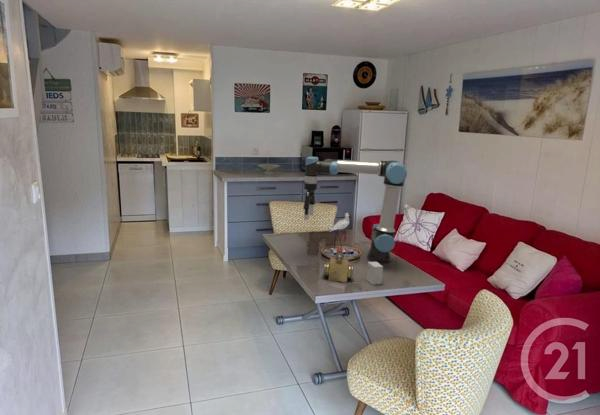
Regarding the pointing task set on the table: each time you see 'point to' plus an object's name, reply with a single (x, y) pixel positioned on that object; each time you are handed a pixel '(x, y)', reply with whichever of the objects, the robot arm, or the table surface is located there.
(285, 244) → the table surface
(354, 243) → the table surface
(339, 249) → the lever
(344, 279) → the valve body
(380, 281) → the small box
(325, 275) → the pipe
